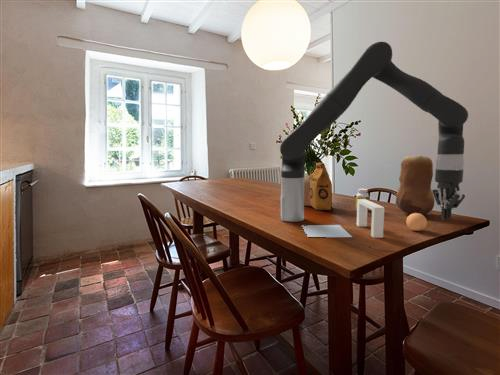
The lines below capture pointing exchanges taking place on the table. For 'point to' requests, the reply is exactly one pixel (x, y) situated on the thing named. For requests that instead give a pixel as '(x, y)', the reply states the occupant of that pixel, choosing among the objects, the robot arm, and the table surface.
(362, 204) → the bridge
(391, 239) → the table surface
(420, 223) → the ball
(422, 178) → the butternut squash
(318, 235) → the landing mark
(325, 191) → the coffee package
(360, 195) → the supplement bottle
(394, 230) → the table surface
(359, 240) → the table surface
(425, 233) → the table surface
